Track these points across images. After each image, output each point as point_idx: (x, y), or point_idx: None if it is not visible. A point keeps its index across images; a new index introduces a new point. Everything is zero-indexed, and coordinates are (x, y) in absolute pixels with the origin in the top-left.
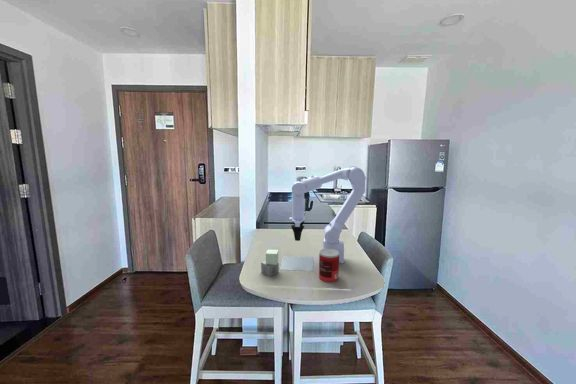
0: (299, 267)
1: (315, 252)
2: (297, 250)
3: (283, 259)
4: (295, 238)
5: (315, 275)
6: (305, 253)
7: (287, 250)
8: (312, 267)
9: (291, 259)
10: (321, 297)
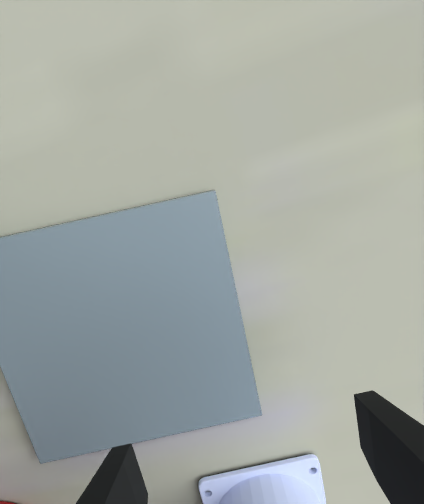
0: (52, 373)
1: None
2: (395, 263)
3: (148, 218)
4: (99, 479)
5: (6, 475)
6: (344, 338)
7: (380, 179)
8: (87, 448)
9: (170, 280)
10: None
